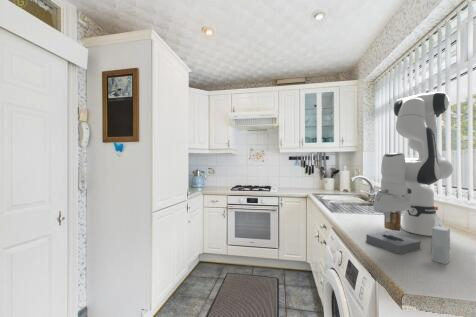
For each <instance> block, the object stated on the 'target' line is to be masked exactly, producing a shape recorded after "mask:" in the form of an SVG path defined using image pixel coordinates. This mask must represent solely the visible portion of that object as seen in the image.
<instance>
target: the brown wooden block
mask: <svg viewBox="0 0 476 317" xmlns="http://www.w3.org/2000/svg"><path fill="white" fill-rule="evenodd" d="M401 215H402V213H401V214H400V213H395V212H390V218H392V222H386V221H385V216H384V217H383V219H384V222H383V223H384V224H383V227H384V229H387V230H391V231H398V232H400V231H401V229H402V228H401V225H402V221H401V220H402V219H401V218H402V217H401Z"/></svg>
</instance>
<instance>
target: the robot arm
mask: <svg viewBox="0 0 476 317" xmlns="http://www.w3.org/2000/svg"><path fill="white" fill-rule="evenodd" d="M449 105H450V97H449V96H448V94H447V93H446V92H444V91H435V92H427V93H420V94H416V95H411V96H408V97H402V98H399V99H397V100H396V101H395V102H394V104H393V113H394V115H395V116H396V122H395V131H396V132H397V133H398V134H399V135H400V136H402V137H404V138H405V139H408V146H409V148H410V149H411V150H413V151H416V152H417V153H418V157H405V154H404V153H402V152H389V153H385V154H383V156H382V160H381V168H380V172H381V173H380V174H381V180H380V189H379V190H378V192H376V194H375V197H374V202H373V211H374V212H376V213H381V214H383V216H384V217H385V221H386V222H392V218H390V212H395V213H400V214H401V215H402V219H401V220H402V221H401V229H402V230H403V231H406V232H408V233H411V234H415V235H421V236H427V237H432V228H433V227H434V226H441V227H444V221H443V219H442V218H440V216H438V215H437V211H438V210H439V207H438V206H437V205H435V199H434V198H435V193H434V191H433V189H432V188H430V187H429V186H430V185H433V184H435V183H437V182H438V181H439V180H445V179H448V178H449V177H450V176H451V175H452V174H453V170H454V168H453V165H452V163H451V162H450V161H449V159H446V158H445V157H444V156H442V155H441V153H440V151H439V149H438V147H437V134H438V133H437V130H438V127H437V119H436V118H439V117H440V116H441V115H442V114H444V113H445V112H446V111H447V110H448V107H449ZM402 211H404V212H403V213H402Z"/></svg>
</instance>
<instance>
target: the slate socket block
mask: <svg viewBox="0 0 476 317" xmlns="http://www.w3.org/2000/svg"><path fill="white" fill-rule="evenodd" d="M365 238H366V239H365V241H366V243H369V244H371V245H374V246H377V247H379V248H382V249H385V250H388V251H390V252H393V253H395V252H396V253H395V254H399V255H401V253H402V254H405V252H406V253H408V252H409V251H410V252H414V251H418V250H421V241H420V240H418V239H413V238H411V237H407V236H403V235H401V234H397V233H394V232H391V231H387V230H384V231H381V232H380V231H379V232H374V233H369V234H366V236H365ZM410 252H409V253H410Z"/></svg>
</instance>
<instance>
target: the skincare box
mask: <svg viewBox="0 0 476 317" xmlns="http://www.w3.org/2000/svg"><path fill="white" fill-rule="evenodd" d="M450 233H451V228H450V227H445V226H443V227H441V226H434V227H433V228H432V236H431V260H432V261H434V262H437V263H441V264H445V265H447V264H448V263H449V261H450V260H451V255H450V254H451V249H450V248H451V246H450V245H451V237H450V236H451V234H450Z"/></svg>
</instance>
